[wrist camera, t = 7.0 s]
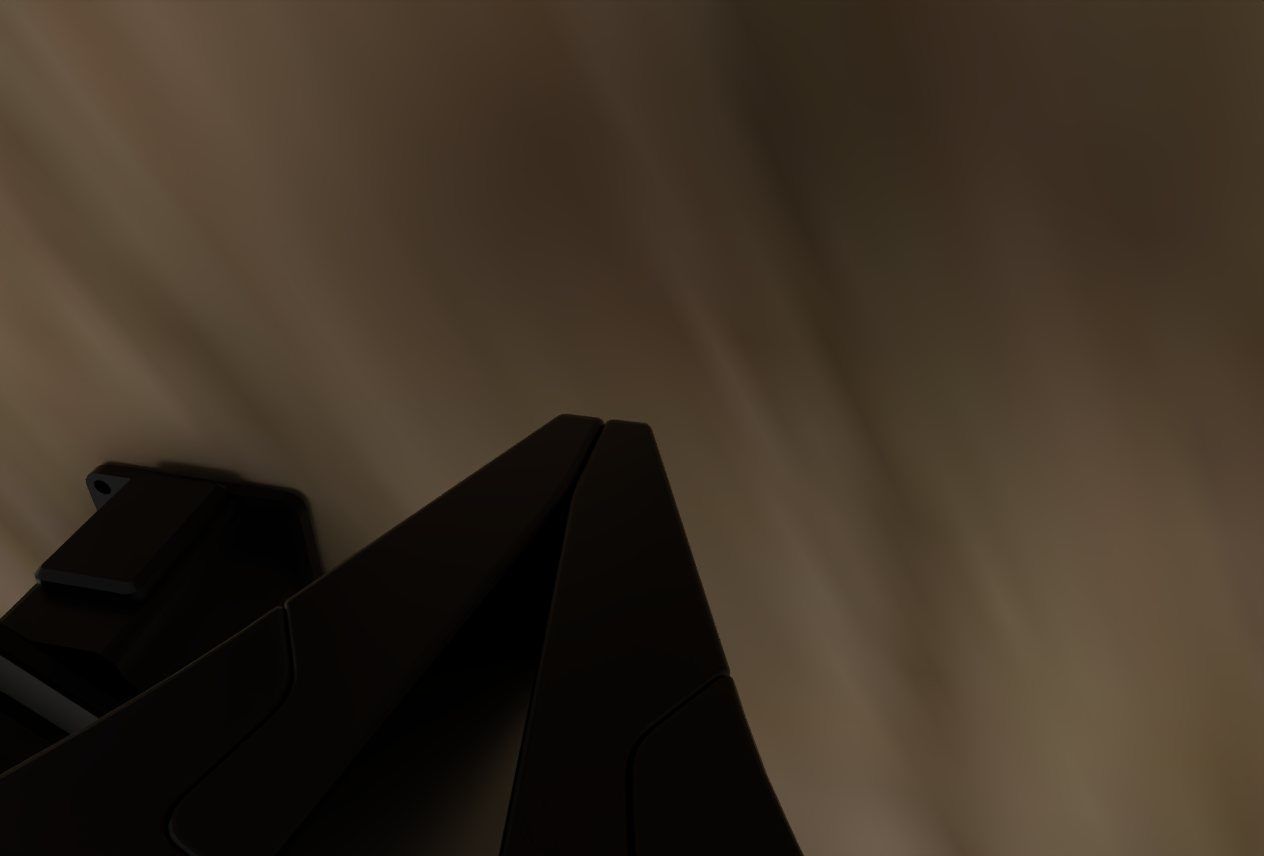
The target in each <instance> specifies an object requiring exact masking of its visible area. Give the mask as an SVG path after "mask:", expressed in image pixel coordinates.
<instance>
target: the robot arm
mask: <svg viewBox="0 0 1264 856" xmlns="http://www.w3.org/2000/svg"><path fill="white" fill-rule="evenodd" d="M86 484H87V487H88V489H89V492H90V494H91V497H92V499H93V502H94V504H95V506H96V509H97V512H96V513H95V514H94V515H93V516H92V517H91V518H90V519H89V520H88V521H87V522H86V523H85V524H84V525H83V526H81V527H80V528H79V529H78V530H77V531H76V532H75V533H74V534H73V535H72V536H71V537H70V538H69V539H68V540H67V541H66V542H65V543H64V544H63V545H62V546H61V547H60V548H59V549H58V550H57V551H56V552H55V553H54V554H53V555H51V556H50V557H49V558H48V559H47V560H46V561H45V562H44V563H43V564H42V565H41V566H40V567H39V568H38V569H37V571H36V572H35V574H34V575H35V579H36V581H37V583H36V584H35V585H34V586H33V587H32V588H31V589H30V590H29V591H28V592H27V593H26V594H25V595H24V596H23V597H22V598H21V599H20V600H19V601H18V602H17V603H16V604H15V605H14V606H13V607H12V608H11V609H10V610H9V611H8V612H7V613H6V614H5V615H4V616H3V617H2V618H1V619H0V856H804V855H803V853H802V851H801V849H800V847H799V845H798V843H797V840H796V838H795V836H794V834H793V831H792V829H791V827H790V825H789V823H788V820H787V818H786V816H785V814H784V811H783V809H782V807H781V805H780V803H779V800H778V798H777V796H776V794H775V792H774V789H773V787H772V785H771V783H770V780H769V778H768V776H767V773H766V771H765V768H764V765H763V763H762V760H761V757H760V755H759V752H758V749H757V746H756V744H755V741H754V738H753V736H752V733H751V730H750V727H749V725H748V722H747V719H746V717H745V714H744V710H743V707H742V704H741V701H740V698H739V695H738V692H737V689H736V686H735V683H734V680H733V678H732V677H730V669H729V666H728V663H727V660H726V657H725V653H724V650H723V647H722V644H721V641H720V638H719V635H718V632H717V629H716V626H715V623H714V619H713V616H712V613H711V610H710V607H709V604H708V601H707V598H706V595H705V592H704V589H703V585H702V582H701V579H700V576H699V573H698V570H697V567H696V564H695V561H694V558H693V555H692V551H691V548H690V545H689V542H688V539H687V536H686V533H685V530H684V527H683V524H682V521H681V517H680V514H679V511H678V508H677V505H676V502H675V499H674V496H673V493H672V490H671V487H670V483H669V480H668V477H667V474H666V471H665V468H664V465H663V462H662V459H661V456H660V452H659V449H658V446H657V443H656V440H655V437H654V434H653V431H652V429H651V427H650V426H649V425H648V424H646V423H640V422H631V421H622V420H609V421H607V422H606V423H605V424H604V422H603V420H602V419H600V418H596V417H588V416H580V415H572V414H561V415H559V416H557V417H556V418H554V419H553V420H551V421H550V422H548V423H547V424H545V425H544V426H542V427H541V428H539V429H538V430H536V431H535V432H533V433H532V434H531V435H529V436H528V437H526V438H525V439H523V440H522V441H520V442H519V443H517V444H516V445H514V446H513V447H511V448H510V449H508V450H507V451H505V452H504V453H503V454H501V455H500V456H498V457H497V458H495V459H494V460H492V461H491V462H489V463H488V464H486V465H485V466H483V467H482V468H480V469H479V470H478V471H476V472H475V473H473V474H472V475H470V476H469V477H467V478H466V479H464V480H463V481H461V482H460V483H458V484H457V485H455V486H454V487H453V488H451V489H450V490H448V491H447V492H445V493H444V494H442V495H441V496H439V497H438V498H436V499H435V500H433V501H432V502H430V503H429V504H427V505H426V506H425V507H423V508H422V509H420V510H419V511H417V512H416V513H414V514H413V515H411V516H410V517H408V518H407V519H405V520H404V521H402V522H401V523H400V524H398V525H397V526H395V527H394V528H392V529H391V530H389V531H388V532H386V533H385V534H383V535H382V536H380V537H379V538H377V539H376V540H375V541H373V542H372V543H370V544H369V545H367V546H366V547H364V548H363V549H361V550H360V551H358V552H357V553H355V554H354V555H352V556H351V557H349V558H348V559H347V560H345V561H344V562H342V563H341V564H339V565H338V566H336V567H335V568H333V569H332V570H330V571H329V572H327V573H326V574H324V575H323V576H322V573H321V569H320V564H319V560H318V556H317V552H316V547H315V543H314V539H313V535H312V530H311V526H310V522H309V517H308V513H307V509H306V506H305V504H304V502H303V501H302V500H301V499H300V498H299V497H298V496H296V495H295V494H293V493H290V492H287V491H280V490H273V489H266V488H260V487H253V486H246V485H239V484H232V483H225V482H219V481H212V480H205V479H198V478H191V477H184V476H178V475H171V474H164V473H157V472H150V471H143V470H137V469H130V468H123V467H116V466H109V465H100V466H98V467H97V468H95V469H94V470H93V471H92V472H91V473H90V474H89V475H88V476H87V478H86ZM284 508H285V509H286V510H285V509H284ZM287 510H288V511H287Z"/></svg>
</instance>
